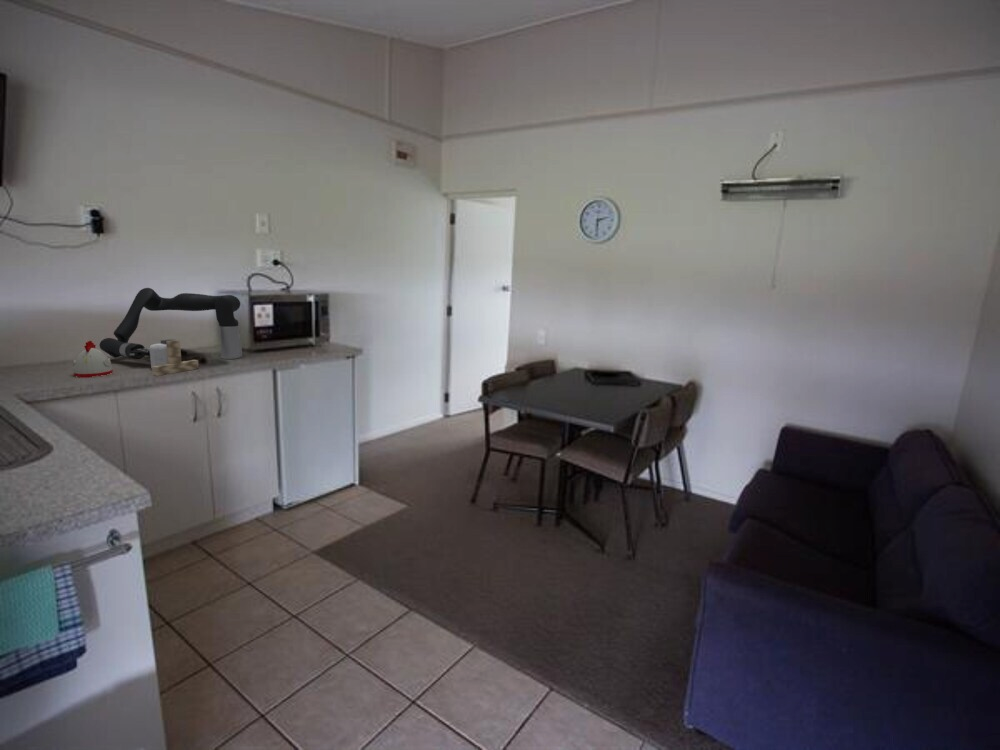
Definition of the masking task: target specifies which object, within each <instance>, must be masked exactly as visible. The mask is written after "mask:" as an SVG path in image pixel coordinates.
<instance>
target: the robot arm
mask: <svg viewBox="0 0 1000 750" xmlns="http://www.w3.org/2000/svg"><path fill="white" fill-rule="evenodd" d="M240 307H241V301H240V299H239V298H238V297H237V296H235V295H232V294H225V295H211V294H210V295H209V294H202V293H201V294H200V293H190V292H189V293H188V292H184V293H179V294H176V295H175V296H173V297H161V296H160V295H159V294H158V293H157V292H156V291H155V290H154V289H152V288H150V287H144V288H142V289H140V290H139V291H138V293H136V295H135V297H134V299H133V301H132V303H131V304H130V307H129V309H128V311H127V313H126V314H125V317H124V318H123V320H121V322H120V324H119V325H117V327H116V329H114V331H113V336H114V337H115V338H116V339H115V338H113V337H112V338H111V337H106V338H104V339H102V340H101V341H100V342H99V348H100V349H99V350H100V351H101V350H102V351H103V353H106V354H108V355H109V356H111V358H119V357H124V358H127V359H133V360H141V359H143V358H147V357H150V348H147V347H145V346H144V345H143V344H140V343H135V342H134V343H133V342H129V340H130V338H131V337H132V336H133V335H134V333H135V331H136V330H137V328H138V327H139V326H138V325H139V322H140V317H141V313H142V311H143V309H146V310H147V311H152V312H153V311H154V312H158V311H159V312H160V311H186V312H201V311H202V312H204V311H211V310H213V311H215V316H216V321H217V323H218V330H219V331H218V333H219V342H220V343H219V344H220V354H221V359H223V360H233V359H235V360H237V359H241V358H243V345H242V339H241V338H240V330H239V327H240V325H239V320H238V319H236V318H235V314H234V313H235V312H237V311H238V310H239V309H240Z"/></svg>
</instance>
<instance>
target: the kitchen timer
mask: <svg viewBox="0 0 1000 750" xmlns="http://www.w3.org/2000/svg"><path fill="white" fill-rule="evenodd" d="M96 345H97V344H95V342H93V341H92V340H89V341H88V340H87V342H85V345H84V350H82V351H81V352H80V353H79V354H78V356H77V357H76V359H73V377H75V376H77V377H76V378H93V377H92V376H100V377H102V376H101V375H106V376H108V375H107V374H110V373H112V372H113V373H114V369H113V365H112V362H111V358H110V357H107V356H106V354H104V352H102V351H101V350H100V349H97V348H96ZM113 373H112V374H113ZM110 375H111V374H110Z"/></svg>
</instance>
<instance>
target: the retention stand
mask: <svg viewBox="0 0 1000 750" xmlns="http://www.w3.org/2000/svg"><path fill="white" fill-rule="evenodd" d="M160 343H161V344H166V345H167V354H168V364H164V365H158V366H152V368H151V370H152V376H155V377H158V376H164V375H170V374H175V373H176V374H177V373H182V372H186V371H192V370H193V371H194V370H198V369H200V368H199V366H200V365H199V360H198V359H189V360H183V361H182V353H181V352H182V351H181V341H180V340H178V339H173V338H170V339H162V340H160Z"/></svg>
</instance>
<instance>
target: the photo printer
mask: <svg viewBox="0 0 1000 750" xmlns="http://www.w3.org/2000/svg"><path fill="white" fill-rule="evenodd" d="M149 349H150V356H149V357H150V358H149V360H150V368H151V369H152V366H158V365H164V364H168V354H167V345H166V344H161V342H160V343H153V344H151V345H150V346H149Z"/></svg>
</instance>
